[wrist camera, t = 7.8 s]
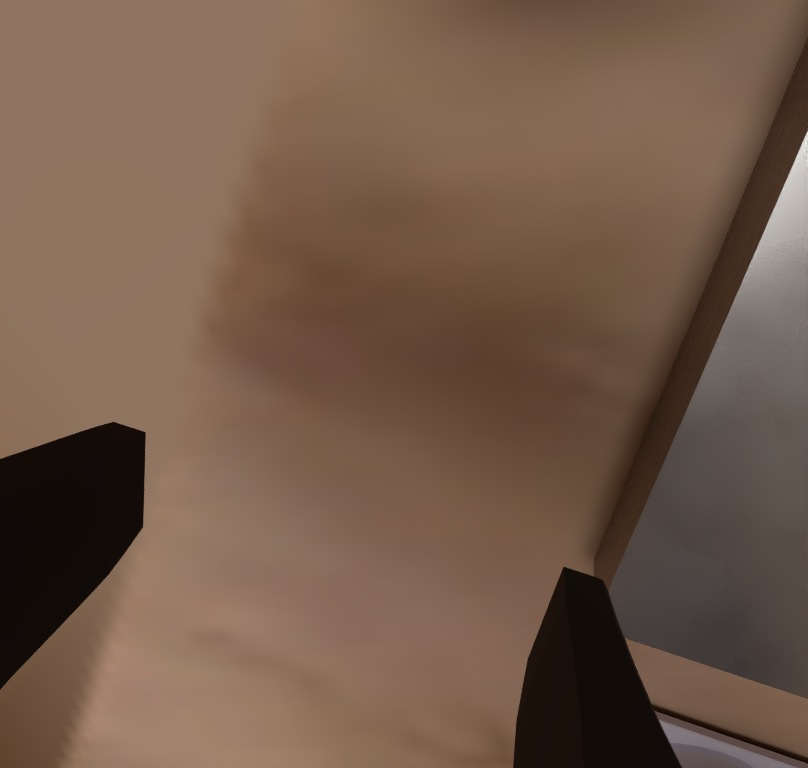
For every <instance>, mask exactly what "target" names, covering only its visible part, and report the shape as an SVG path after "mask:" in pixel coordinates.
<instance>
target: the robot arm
mask: <svg viewBox="0 0 808 768" xmlns="http://www.w3.org/2000/svg"><path fill="white" fill-rule="evenodd" d="M145 434H146V433H145V432H143V431H140V430H137V429H134V428H131V427H127V426H124V425H121V424H118V423H115V422H112V423H108V424H104V425H101V426H97V427H94V428H91V429H88V430H85V431H81V432H78V433H76V434H72V435H70V436H67V437H64V438H61V439H58V440H55V441H52V442H49V443H46V444H43V445H40V446H38V447H34V448H31V449H29V450H26V451H23V452H20V453H17V454H14V455H11V456H8V457H5V458H2V459H0V689H1V688H2V687H3V686H4V685H5V684H6V682H7V681H8V680H9V679H10V678H11V677H12V676H13V675H14V674H15V673H16V672H17V671H18V669H19V668H20V667H21V666H22V665H23V664H24V663H25V662H26V661H27V660H28V659H29V658H30V657H31V656H32V655H33V654H34V653H35V652H36V651H37V650H38V648H40V647H41V646H42V644H43V643H44V642H45V641H46V640H47V639H48V638H49V637H50V636H51V635H52V634H53V633H54V632H55V631H56V630H57V629H58V628H59V627H60V626H61V625H62V624H63V623H64V621H65V620H66V619H67V618H68V617H69V616H70V615H71V614H72V613H73V612H74V611H75V610H76V609H77V608H78V607H79V606H80V605H81V604H82V603H83V601H84V600H85V599H86V598H87V597H88V596H89V595H90V594H91V593H92V592H93V591H94V590H95V589H96V588H97V586H98V585H99V584H100V583H101V582H102V581H103V580H104V579H105V578H106V577H107V576H108V575H109V573H110V572H111V571H112V569H113V568H114V567H115V565H116V564H117V563H118V561H119V560H120V559H121V557H122V556H123V555H124V553H125V552H126V550H127V549H128V548H129V546H130V545H131V543H132V542H133V540H134V539H135V538H136V536H137V535H138V533H139V532H140V530H141V529H142V528H143V510H144V473H145ZM513 768H808V764H807V763H804V762H801V761H798V760H795V759H793V758H790V757H787V756H784V755H781V754H778V753H775V752H772V751H769V750H766V749H763V748H761V747H758V746H755V745H752V744H749V743H746V742H743V741H740V740H737V739H734V738H732V737H729V736H726V735H723V734H720V733H717V732H714V731H711V730H708V729H705V728H703V727H700V726H697V725H694V724H691V723H688V722H685V721H682V720H679V719H676V718H674V717H671V716H668V715H665V714H662V713H659V712H656V711H654V708H653V706H652V704H651V702H650V699H649V697H648V695H647V692H646V690H645V688H644V685H643V683H642V681H641V678H640V676H639V674H638V671H637V669H636V667H635V664H634V662H633V659H632V657H631V654H630V652H629V649H628V646H627V644H626V641H625V638H624V636H623V633H622V630H621V627H620V625H619V622H618V619H617V616H616V613H615V610H614V608H613V605H612V602H611V599H610V595H609V592H608V589H607V587H606V585H605V583H604V581H603V579H600V578H596V577H593V576H590V575H587V574H584V573H581V572H578V571H575V570H572V569H569V568H565V567H563V569H562V572H561V575H560V577H559V580H558V582H557V585H556V588H555V590H554V593H553V595H552V598H551V601H550V603H549V606H548V608H547V611H546V613H545V616H544V619H543V621H542V624H541V626H540V629H539V632H538V634H537V637H536V639H535V642H534V644H533V647H532V650H531V652H530V655H529V657H528V661H527V667H526V672H525V677H524V682H523V688H522V693H521V699H520V704H519V710H518V716H517V723H516V736H515V750H514V764H513Z"/></svg>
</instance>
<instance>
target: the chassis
mask: <svg viewBox="0 0 808 768" xmlns="http://www.w3.org/2000/svg"><path fill="white" fill-rule="evenodd" d="M594 577H596V578H600V579H603V581H604V583H605V585H606V587H607V589H608V592H609V595H610V599H611V602H612V605H613V608H614V610H615V613H616V616H617V619H618V622H619V625H620V627H621V630H622V633H623V636H624V638H627V639H630V640H633V641H636V642H639V643H642V644H645V645H648V646H651V647H654V648H657V649H660V650H663V651H666V652H669V653H672V654H675V655H678V656H681V657H684V658H687V659H690V660H693V661H696V662H699V663H702V664H705V665H708V666H711V667H714V668H717V669H720V670H723V671H726V672H729V673H732V674H735V675H738V676H741V677H744V678H747V679H750V680H753V681H756V682H759V683H762V684H765V685H768V686H771V687H774V688H777V689H780V690H783V691H786V692H789V693H792V694H795V695H798V696H801V697H804V698H807V699H808V40H807V42H806V45H805V47H804V49H803V52H802V54H801V57H800V59H799V62H798V64H797V66H796V69H795V71H794V74H793V76H792V79H791V81H790V84H789V86H788V88H787V91H786V93H785V96H784V98H783V101H782V103H781V105H780V108H779V110H778V113H777V115H776V118H775V120H774V123H773V125H772V127H771V130H770V132H769V135H768V137H767V140H766V142H765V144H764V147H763V149H762V152H761V154H760V157H759V159H758V161H757V164H756V166H755V169H754V171H753V174H752V176H751V179H750V181H749V183H748V186H747V188H746V191H745V193H744V196H743V198H742V200H741V203H740V205H739V208H738V210H737V213H736V215H735V218H734V220H733V222H732V225H731V227H730V230H729V232H728V235H727V237H726V239H725V242H724V244H723V247H722V249H721V252H720V254H719V257H718V259H717V261H716V264H715V266H714V269H713V271H712V274H711V276H710V278H709V281H708V283H707V286H706V288H705V291H704V293H703V295H702V298H701V300H700V303H699V305H698V308H697V310H696V313H695V315H694V317H693V320H692V322H691V325H690V327H689V330H688V332H687V334H686V337H685V339H684V342H683V344H682V347H681V349H680V352H679V354H678V356H677V359H676V361H675V364H674V366H673V369H672V371H671V373H670V376H669V378H668V381H667V383H666V386H665V388H664V390H663V393H662V395H661V398H660V400H659V403H658V405H657V408H656V410H655V412H654V415H653V417H652V420H651V422H650V425H649V427H648V429H647V432H646V434H645V437H644V439H643V442H642V444H641V447H640V449H639V451H638V454H637V456H636V459H635V461H634V464H633V466H632V468H631V471H630V473H629V476H628V478H627V481H626V483H625V486H624V488H623V490H622V493H621V495H620V498H619V500H618V503H617V505H616V507H615V510H614V512H613V515H612V517H611V520H610V522H609V524H608V527H607V529H606V532H605V534H604V537H603V539H602V542H601V544H600V546H599V549H598V551H597V554H596V556H595V559H594Z"/></svg>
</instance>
